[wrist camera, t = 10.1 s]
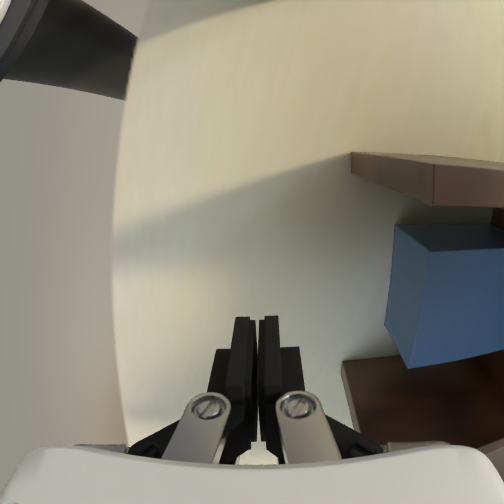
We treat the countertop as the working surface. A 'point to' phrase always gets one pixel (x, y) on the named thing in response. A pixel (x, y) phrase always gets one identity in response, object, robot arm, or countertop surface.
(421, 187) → the brown wooden open box
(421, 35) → the countertop surface
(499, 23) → the countertop surface
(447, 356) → the blue block
